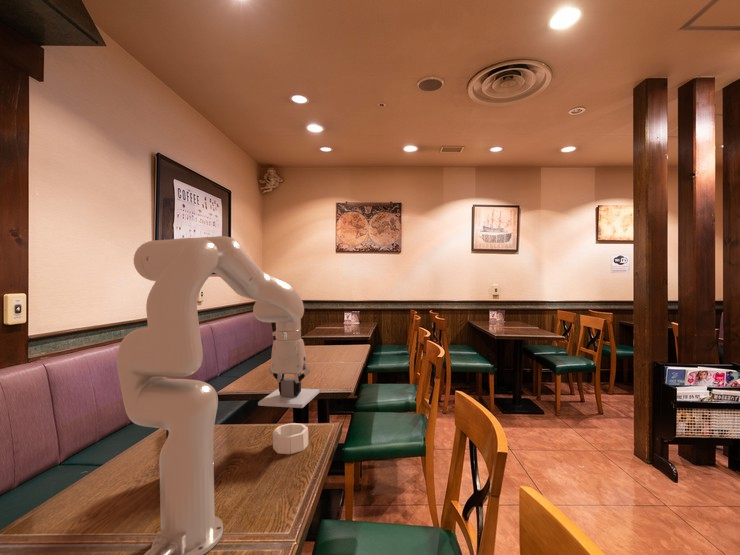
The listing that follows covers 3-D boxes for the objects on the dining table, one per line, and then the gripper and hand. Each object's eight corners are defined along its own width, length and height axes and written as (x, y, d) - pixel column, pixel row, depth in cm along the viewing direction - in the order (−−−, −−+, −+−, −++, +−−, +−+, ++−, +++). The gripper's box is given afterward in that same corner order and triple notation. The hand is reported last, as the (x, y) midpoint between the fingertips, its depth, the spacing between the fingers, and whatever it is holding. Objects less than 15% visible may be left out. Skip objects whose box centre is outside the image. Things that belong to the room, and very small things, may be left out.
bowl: (299, 455, 104) (299, 438, 104) (268, 452, 106) (267, 435, 106) (312, 439, 114) (311, 424, 114) (283, 437, 116) (282, 422, 116)
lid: (302, 408, 102) (302, 387, 102) (258, 405, 105) (257, 385, 105) (319, 392, 115) (319, 374, 115) (279, 390, 118) (279, 372, 118)
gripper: (257, 337, 108) (259, 397, 108) (309, 337, 105) (310, 399, 104) (269, 333, 115) (271, 389, 115) (318, 333, 112) (319, 391, 112)
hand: (290, 393), depth 110 cm, fingers closed on lid, 4 cm apart
